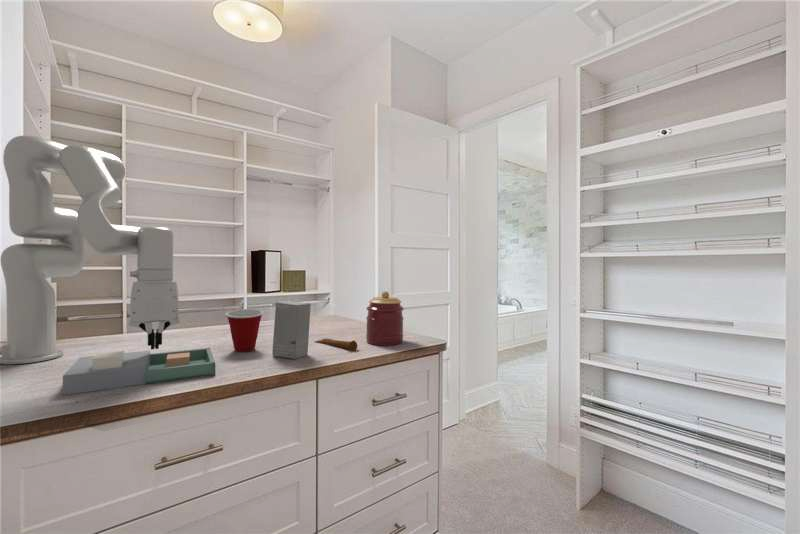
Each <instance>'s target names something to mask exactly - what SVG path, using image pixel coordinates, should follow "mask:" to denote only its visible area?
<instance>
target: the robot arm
mask: <svg viewBox="0 0 800 534" xmlns="http://www.w3.org/2000/svg"><path fill="white" fill-rule="evenodd" d="M2 157H3V159H2V161H3V167H4V170H5V174H6V177H7V180H8V186H9V187H8V189H9V190H8V209H9V210H8V219H9V221H8V222H9V223H8V224H9V227H10V230H11V231H10V232H12V234H14V235H15V236H17V237H20V238H25V239H35V240H36V239H37V240H53V243H54V244H51V243H49V244H48V243H30V242H29V243H27V242H25V243H17V244H13V245H10V246H8V247H6V248H5V249H4V250H2V253H1V254H0V255H1V256H0V266H1V269H2V270H1V271H2V273H3V278H4V283H5V289H6V291H5V293H6V297H5V298H6V343H5V344H2V346H0V364H1V365H2V364H3V365H23V364H30V363H31V364H32V363H37V362H44V361H49V360H53V359H57V358H60V357H61V356H63V355H64V350H63V349H60V348H57V346H56V345H57V344H56V343H57V338H56V337H57V334H56V333H57V330H56V329H57V326H56V323H57V322H56V321H57V319H56V316H57V312H56V311H57V309H56V307H57V303H56V291H55V290H54V287H53V286H52V285H51V284H50V283H49V281H48V280H47V279H48V278H49V279H50V278H68V277H73V276H76V275H77V274H80V272H81V271H82V269H83V267H84V264H85V240H86V241H87V243H88V244H89V246H91V248H93V250H95V251H96V252H97V253H99V254H101V255H106V256H129V257H133V256H137V266H136V267H137V269H135V270H134V271H129V272H130V273H129V276H130V278H135V279H136V280H137V281H133V283H132V287H131V291H130V292H131V293H130V304H129V319H130V320H129V322H128V326H129V327H133V328H140V329H141V330H142V331H144V332H145V333H146V334H147V346H148V347H149V346H150V351H151V350H154V349H155V350H159V349H160V348H159V347H160V346H161V345H162V344H163V332H164V331H165V330H166V329H167V328H168V327H170V326H173V325H177V324H179V323H180V317H179V312H180V311H179V309H180V305H179V290H178V289H179V288H178V285H177V281H175V280H174V232H173V230H171V229H170V228H169V227H160V226H144V227H143V226H142V227H140V226H132V225H125V224H124V225H122V224H115V223H114V224H113V223H111V222H110V221H109V219H108V218H107V216H106V214H105V213H104V211H103V209H106V208H109V207H111V206H113V205H115V204H116V203H118V202H119V201H120V199H121V198H122V190H121V188H120V186H119V183H121V182H122V181H123V180H124V178H125V176H126V168H125V165H124V163H123V162H122V160H121V159H120V158H119V157H117V156H116V155H115V154H112V153H110V152H106V151H102V150H100V149H97V148H93V147H89V146H86V145H79V144H71V145H67V144H63V143H61V142H58V141H54V140H51V139H47V138H43V137H39V136H35V135H34V136H33V135H18V136H14V137H13V138H12V139H10V140H9V141H8V142H7V144H6V145H5V147H4V150H3V156H2ZM42 172H48V173H52V174H56V175H61V176H65V177H68V179H69V180H70V182H71V184H72V185H73V187H74V188H75V191H76V192H77V193H78V195H79V196H80V198H81V200H82V202H81V203H80V204H79V206H78V207H79V208H78V210H77V211H75V210H74V209H70V208H68V207H67V208H66V207H60V206H55V205H54V191H53V187H52V185H51V183H50V181H49V180H48V179H47V178H46V176H45V175H44V174H43V173H42ZM155 322H158V328H156V332H155V329H154V328H153V324H152V323H155Z"/></svg>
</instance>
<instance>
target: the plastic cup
mask: <svg viewBox="0 0 800 534" xmlns="http://www.w3.org/2000/svg"><path fill="white" fill-rule="evenodd" d="M263 315H264V311H263V310H261V309H254V308H251V309H250V308H249V309H248V308H246V309H245V308H243V309H235V310H230V311H227V312H226V313H225V316H226V317H227V320H228V324H229V327H230V328H229V330H230V334H231V340H232V345H233V349H234V352H236V351H237V353H246V351H248V352H251V351H254V350H255V349H256V344H257V339H258V335H259V329H260V323H261V319H262V316H263Z"/></svg>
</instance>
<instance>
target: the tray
mask: <svg viewBox="0 0 800 534" xmlns="http://www.w3.org/2000/svg"><path fill="white" fill-rule="evenodd" d="M188 352H190V365H183V366H175V367H166V359H167V355H168V354H178V353H188ZM202 376H204V377H210V376H216V361H215V358H214V356H213V353H212V350H211V347H207V348H206V347H205V348H196V349H185V350H176V351H165V352H157V353H150V366H149V370H146V384H145V385H152V384H159V383H158V382H160V383H165V382H166V381H167V382H172V381H174V380H175V381H180V379H182V380H188V378H189V379H195V378H194V377H197V378H203V377H202Z"/></svg>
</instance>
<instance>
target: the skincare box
mask: <svg viewBox="0 0 800 534" xmlns="http://www.w3.org/2000/svg"><path fill="white" fill-rule="evenodd" d="M311 305H312V304H311V303H308V302H302V301H294V300H293V301H292V300H287V301H286V300H285V301H284V300H283V301H276V302H275V310H274V311H275V313H274V326H273V339H272V357H277V358H283V359H291V360H292V359H293V360H296V359H300V358H302V357H305V356H308V352H309V337H310V322H311V321H310V318H311Z"/></svg>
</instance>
